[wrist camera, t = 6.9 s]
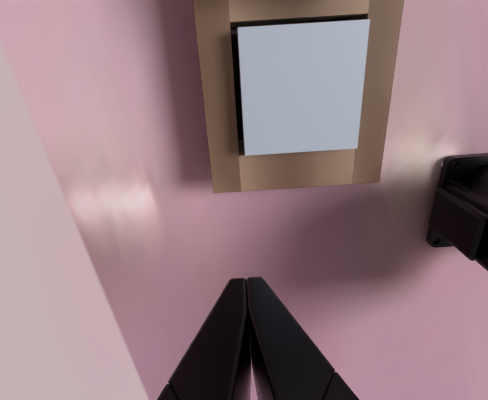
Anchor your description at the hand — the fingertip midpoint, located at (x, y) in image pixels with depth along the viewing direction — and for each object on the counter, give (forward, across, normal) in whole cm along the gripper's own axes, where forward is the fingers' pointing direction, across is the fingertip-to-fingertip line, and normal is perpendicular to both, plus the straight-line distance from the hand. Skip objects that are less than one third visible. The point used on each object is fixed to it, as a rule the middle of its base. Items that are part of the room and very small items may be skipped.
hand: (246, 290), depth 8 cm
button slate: (+11, -3, -4) cm, 12 cm away
